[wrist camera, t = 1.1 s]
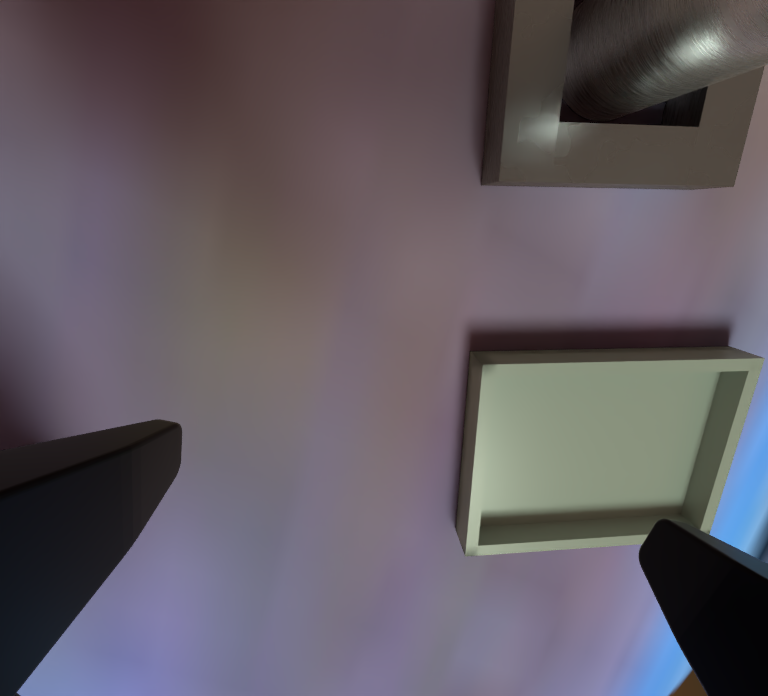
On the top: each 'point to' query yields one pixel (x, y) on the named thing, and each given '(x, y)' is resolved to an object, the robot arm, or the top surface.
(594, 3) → the pin
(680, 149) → the receiver socket
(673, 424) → the tray
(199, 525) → the top surface
